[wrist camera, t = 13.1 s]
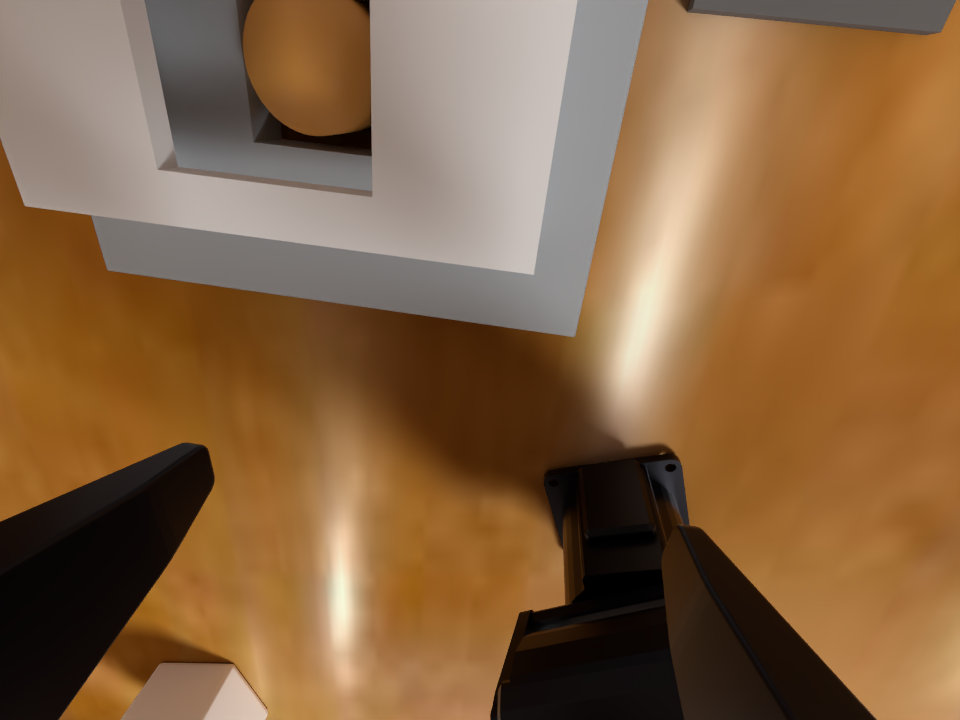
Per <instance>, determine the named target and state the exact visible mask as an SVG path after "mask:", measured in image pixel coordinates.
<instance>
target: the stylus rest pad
mask: <svg viewBox="0 0 960 720" xmlns="http://www.w3.org/2000/svg"><path fill="white" fill-rule="evenodd" d="M955 1H956V0H690V4H689V8H688V12H692V13H702V14H713V15H723V16H734V17H744V18H754V19H765V20H775V21H785V22H796V23H806V24H816V25H827V26H837V27H847V28H858V29H868V30H878V31H889V32H899V33H909V34H920V35H929V34H934V33H940V32H941V31H942V29H943V27H944V24H945V22H946V20H947V18H948V16H949V14H950V12H951V10H952V8H953V6H954V3H955Z"/></svg>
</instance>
